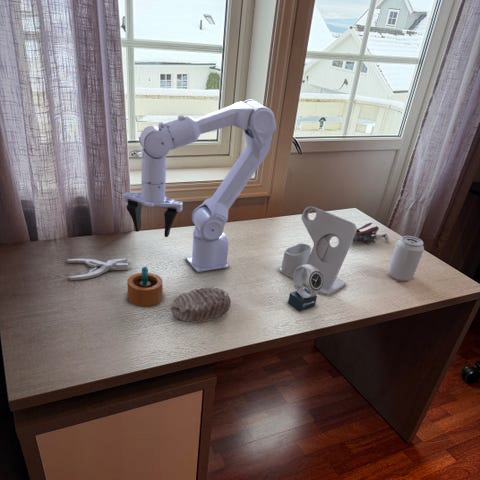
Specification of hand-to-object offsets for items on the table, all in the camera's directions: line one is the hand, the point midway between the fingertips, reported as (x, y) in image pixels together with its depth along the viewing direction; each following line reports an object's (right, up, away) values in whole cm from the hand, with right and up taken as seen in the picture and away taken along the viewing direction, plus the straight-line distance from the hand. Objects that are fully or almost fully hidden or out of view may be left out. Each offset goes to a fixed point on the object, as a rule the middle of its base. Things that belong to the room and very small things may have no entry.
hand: (152, 232), depth 115 cm
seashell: (+13, -21, -9) cm, 26 cm away
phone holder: (+43, -11, +12) cm, 46 cm away
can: (+70, -10, +18) cm, 73 cm away
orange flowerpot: (-1, -17, -6) cm, 18 cm away
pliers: (-15, -9, +3) cm, 18 cm away
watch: (+38, -19, -1) cm, 43 cm away
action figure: (+64, +4, +36) cm, 73 cm away
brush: (-1, -17, -6) cm, 18 cm away
